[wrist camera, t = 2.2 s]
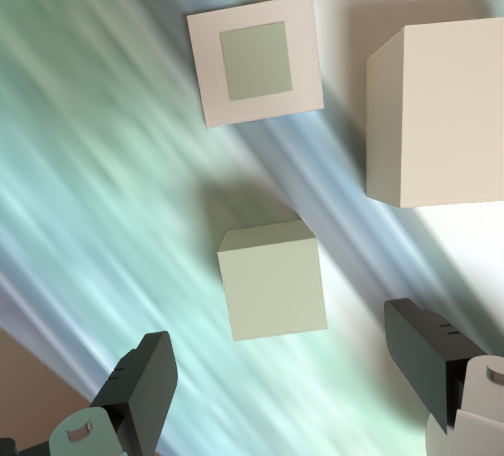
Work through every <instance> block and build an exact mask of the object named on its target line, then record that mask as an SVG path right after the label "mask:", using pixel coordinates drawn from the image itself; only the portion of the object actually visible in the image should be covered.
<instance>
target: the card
mask: <svg viewBox="0 0 504 456" xmlns="http://www.w3.org/2000/svg"><path fill="white" fill-rule="evenodd" d="M187 21H188V27H189V32H190V38H191V43H192V49H193V55H194V60H195V66H196V71H197V77H198V82H199V88H200V94H201V99H202V105H203V110H204V116H205V122H206V127H207V128H213V127H219V126H225V125H231V124H237V123H243V122H249V121H255V120H261V119H267V118H273V117H279V116H285V115H291V114H297V113H303V112H309V111H315V110H321V109H323V108H324V102H323V93H322V83H321V73H320V64H319V54H318V44H317V35H316V25H315V15H314V6H313V0H271V1H266V2H260V3H255V4H249V5H244V6H238V7H233V8H227V9H222V10H217V11H211V12H206V13H200V14H195V15H189V16H187Z"/></svg>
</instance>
